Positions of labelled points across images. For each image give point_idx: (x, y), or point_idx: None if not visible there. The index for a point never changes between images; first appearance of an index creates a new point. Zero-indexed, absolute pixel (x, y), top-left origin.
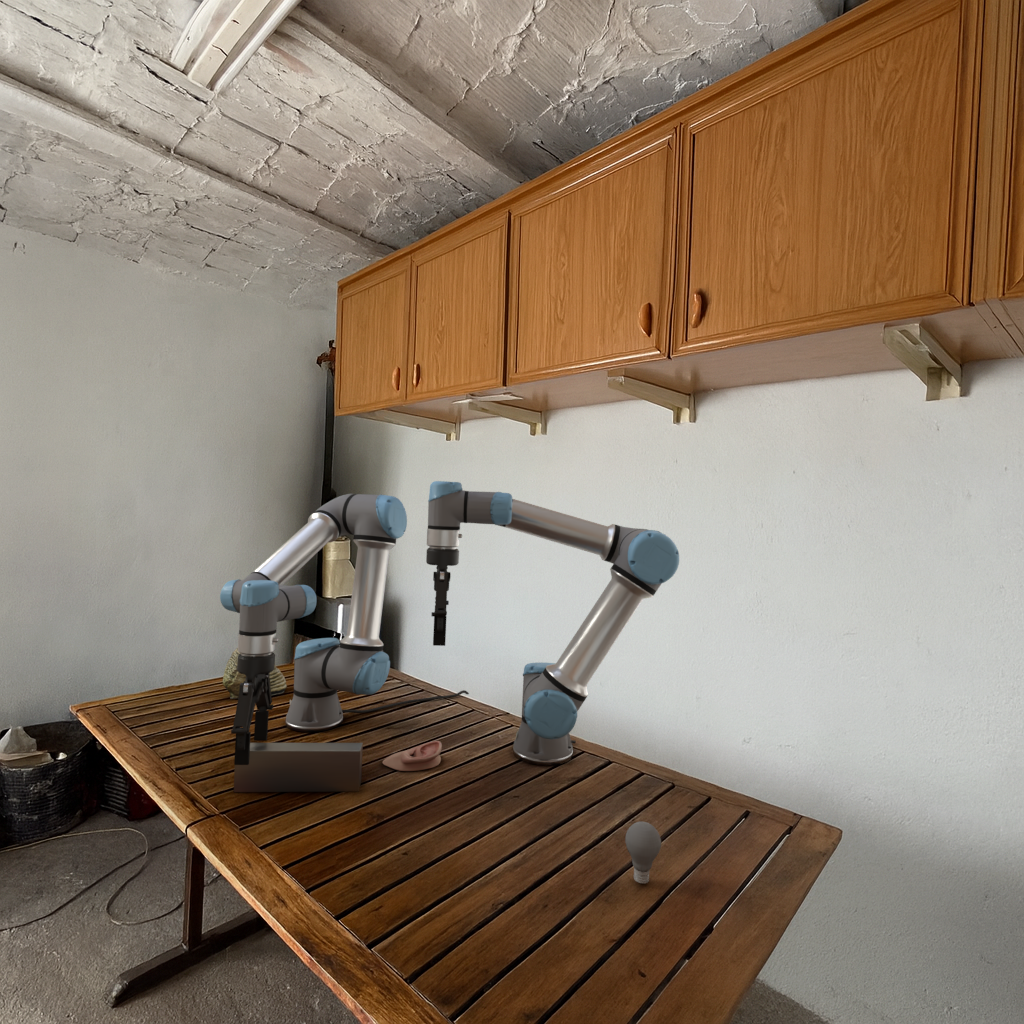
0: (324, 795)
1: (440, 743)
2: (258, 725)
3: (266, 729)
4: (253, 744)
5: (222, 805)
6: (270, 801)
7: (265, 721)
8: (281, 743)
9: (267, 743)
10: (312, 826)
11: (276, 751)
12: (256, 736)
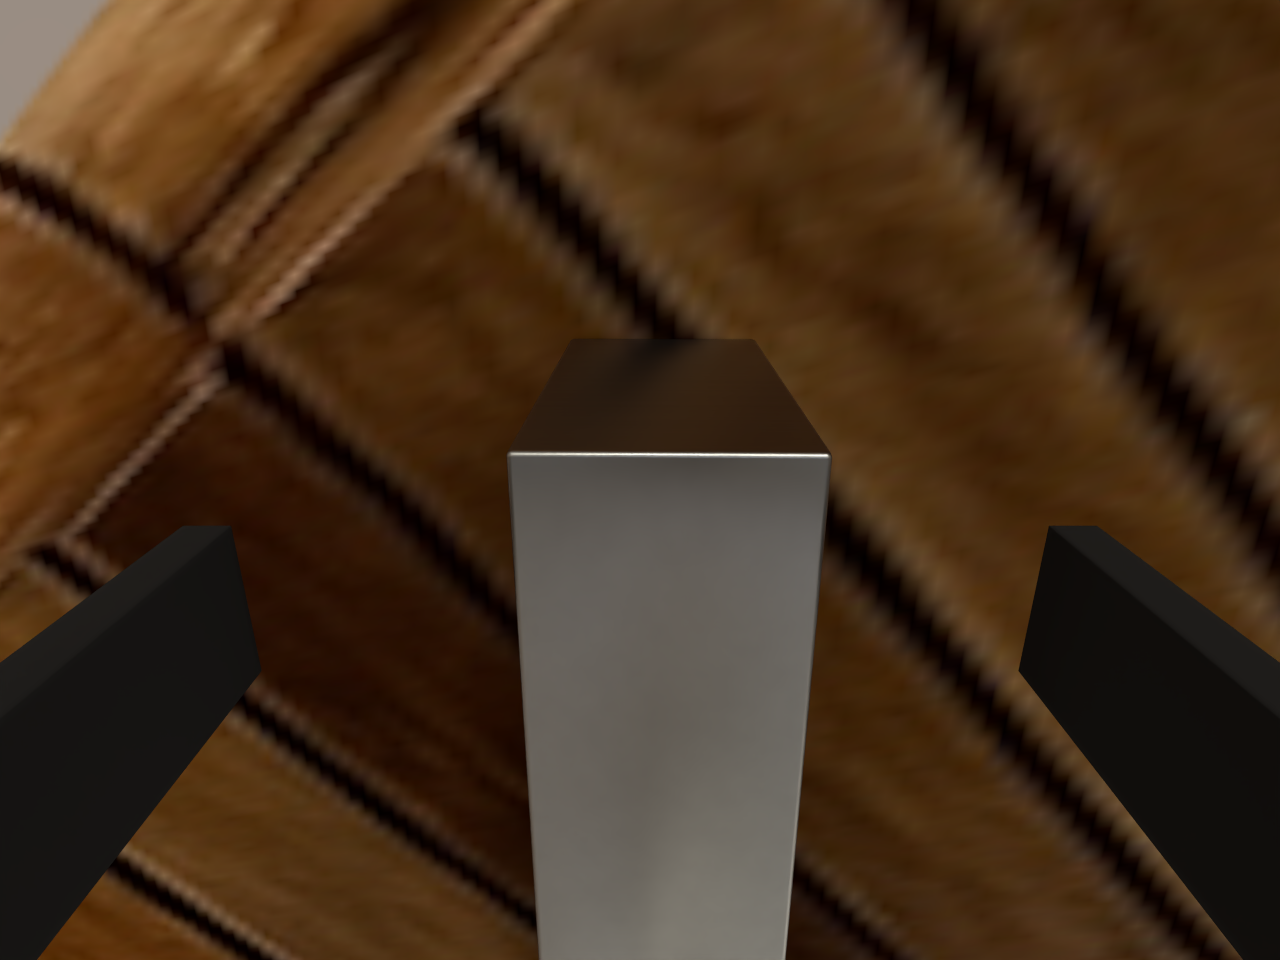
0: None
1: None
2: (1180, 706)
3: (1106, 772)
4: (744, 626)
5: (345, 321)
6: (440, 635)
7: (1195, 865)
8: (761, 908)
9: (772, 773)
10: (166, 900)
11: (536, 895)
12: (1071, 584)
